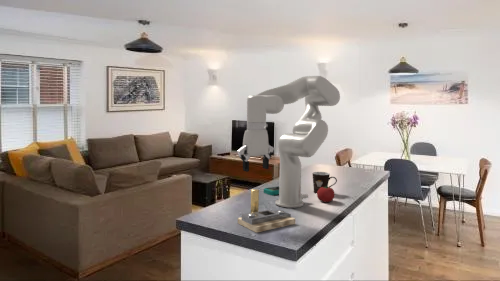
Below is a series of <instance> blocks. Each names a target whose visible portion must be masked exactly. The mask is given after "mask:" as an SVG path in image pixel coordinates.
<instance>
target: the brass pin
mask: <svg viewBox="0 0 500 281" xmlns="http://www.w3.org/2000/svg"><path fill="white" fill-rule="evenodd" d="M259 196H260V189H257V188H253V189H250V213H253V212H258V211H260V210H259V209H260V208H259V207H260V204H259V203H260V201H259V200H260V197H259Z"/></svg>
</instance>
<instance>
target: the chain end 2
mask: <svg viewBox="0 0 500 281" xmlns="http://www.w3.org/2000/svg"><path fill="white" fill-rule="evenodd" d="M274 211H275V212H277V213H280V217H275V218H270V219H265V220H264V222H268V221H273V220H278V219H283V218H287V217H292V215H291V213H290V212H286V211H284V210H281V209H278V210H274ZM263 215H265V216H266V215H271V214H268V213H266V214H263Z"/></svg>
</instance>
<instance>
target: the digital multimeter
mask: <svg viewBox="0 0 500 281" xmlns="http://www.w3.org/2000/svg"><path fill="white" fill-rule="evenodd" d="M263 193H264V194H266V195H269V196H272V197H273V196H279V195H278V194H279V186H271V187H265V188H263Z"/></svg>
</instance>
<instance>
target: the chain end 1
mask: <svg viewBox="0 0 500 281" xmlns="http://www.w3.org/2000/svg"><path fill="white" fill-rule="evenodd" d="M275 211H276V210H271V209H265V210H264V209H263V210H259V211H258V212H253V213H251V212H249V213H244V214H243V213H242V214H241V217H242V220H243V221H245V222H247V223H249V224H251V225H254V224H259V223H263V222H264V220H265V219H270V218H275V217H280V213H277V212H275ZM266 213H268V214H271V215H266V216H265V215H263V214H266Z"/></svg>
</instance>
